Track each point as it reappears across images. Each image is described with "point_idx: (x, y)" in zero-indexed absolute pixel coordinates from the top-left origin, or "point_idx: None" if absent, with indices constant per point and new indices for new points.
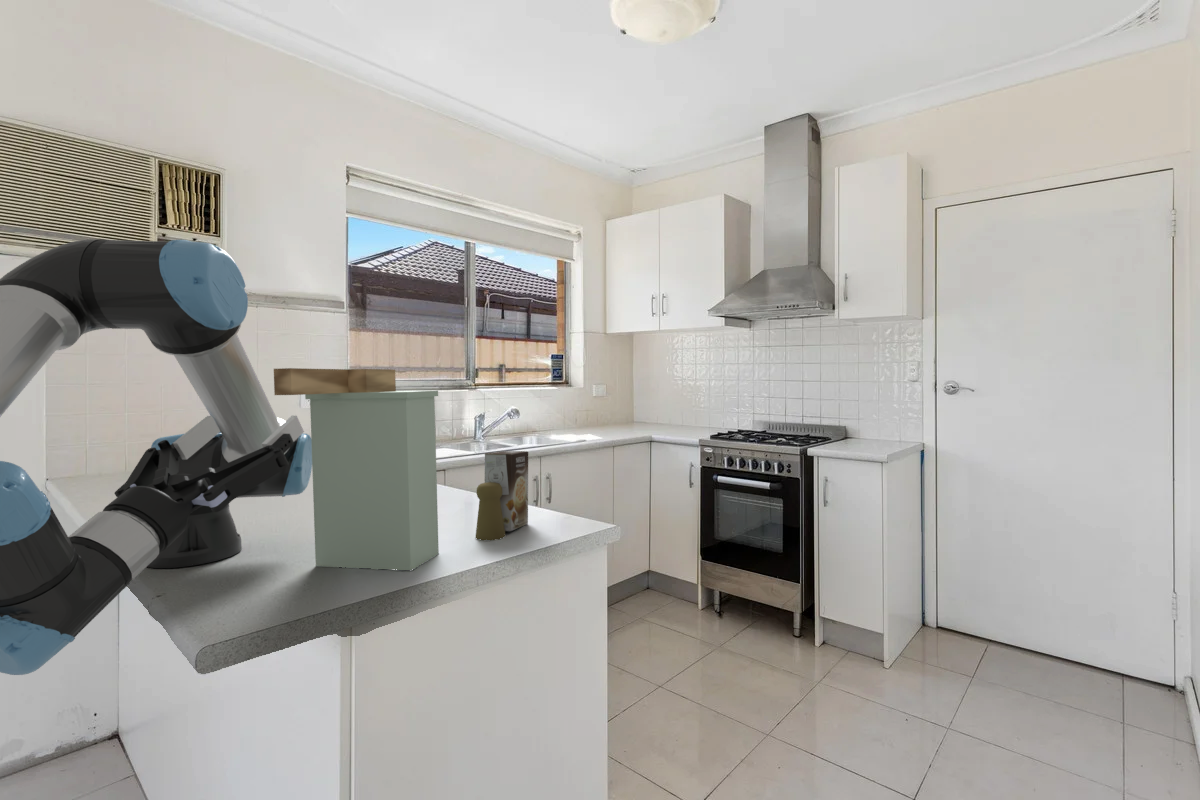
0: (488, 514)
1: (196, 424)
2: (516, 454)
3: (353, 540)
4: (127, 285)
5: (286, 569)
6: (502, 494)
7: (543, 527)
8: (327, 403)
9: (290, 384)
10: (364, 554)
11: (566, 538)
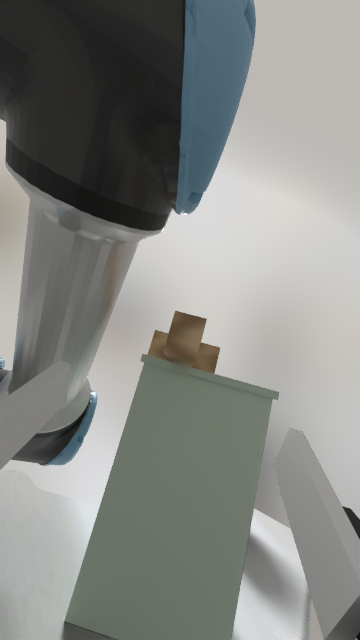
0: None
1: (32, 379)
2: None
3: (142, 590)
4: None
5: (16, 630)
6: None
7: (254, 528)
8: (166, 374)
9: (198, 343)
10: (153, 621)
11: None
